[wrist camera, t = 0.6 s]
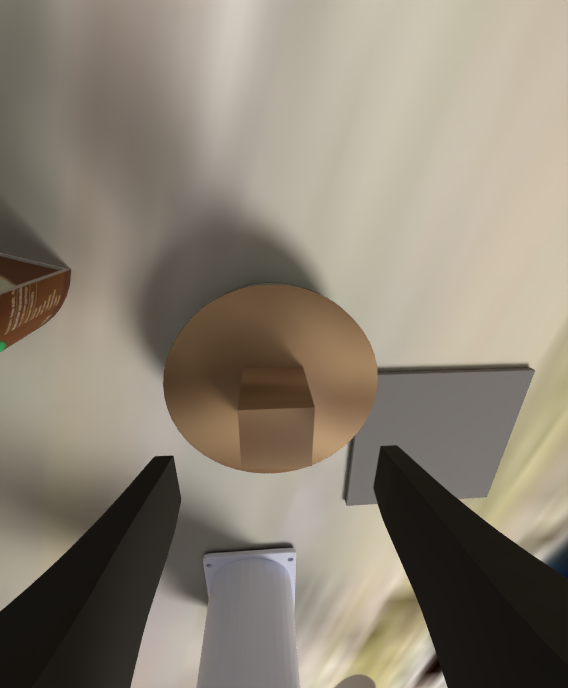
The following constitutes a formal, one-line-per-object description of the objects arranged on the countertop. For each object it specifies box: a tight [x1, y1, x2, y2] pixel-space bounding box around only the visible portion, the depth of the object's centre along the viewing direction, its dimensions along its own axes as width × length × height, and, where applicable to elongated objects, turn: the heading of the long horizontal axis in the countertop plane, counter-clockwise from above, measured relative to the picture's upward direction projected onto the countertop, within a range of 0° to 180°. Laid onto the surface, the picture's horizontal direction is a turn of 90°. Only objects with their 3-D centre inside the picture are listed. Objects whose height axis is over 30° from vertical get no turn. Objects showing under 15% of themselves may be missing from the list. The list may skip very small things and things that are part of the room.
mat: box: [345, 368, 535, 506], centre depth 22 cm, size 12×12×1 cm
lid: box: [163, 284, 378, 473], centre depth 14 cm, size 11×11×4 cm
